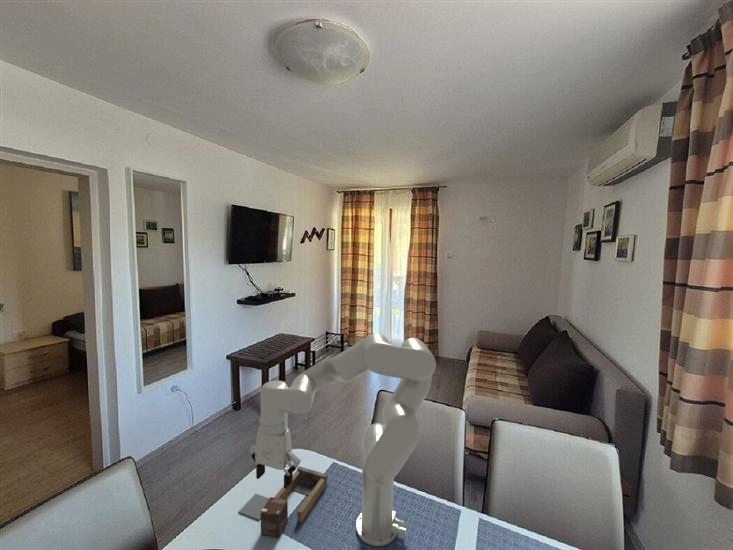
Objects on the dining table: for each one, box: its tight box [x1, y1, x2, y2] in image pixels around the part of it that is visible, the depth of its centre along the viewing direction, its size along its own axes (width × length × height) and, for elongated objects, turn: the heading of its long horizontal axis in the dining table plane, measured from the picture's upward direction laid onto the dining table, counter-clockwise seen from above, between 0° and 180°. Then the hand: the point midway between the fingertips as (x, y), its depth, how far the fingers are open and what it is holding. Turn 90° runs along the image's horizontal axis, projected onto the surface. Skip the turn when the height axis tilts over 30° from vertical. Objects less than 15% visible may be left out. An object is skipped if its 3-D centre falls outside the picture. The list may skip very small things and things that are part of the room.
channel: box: [273, 465, 328, 524], centre depth 106 cm, size 12×17×4 cm
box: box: [260, 496, 289, 539], centre depth 94 cm, size 6×6×7 cm
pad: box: [238, 493, 270, 521], centre depth 102 cm, size 8×8×1 cm
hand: (274, 480), depth 92 cm, fingers open, 9 cm apart
